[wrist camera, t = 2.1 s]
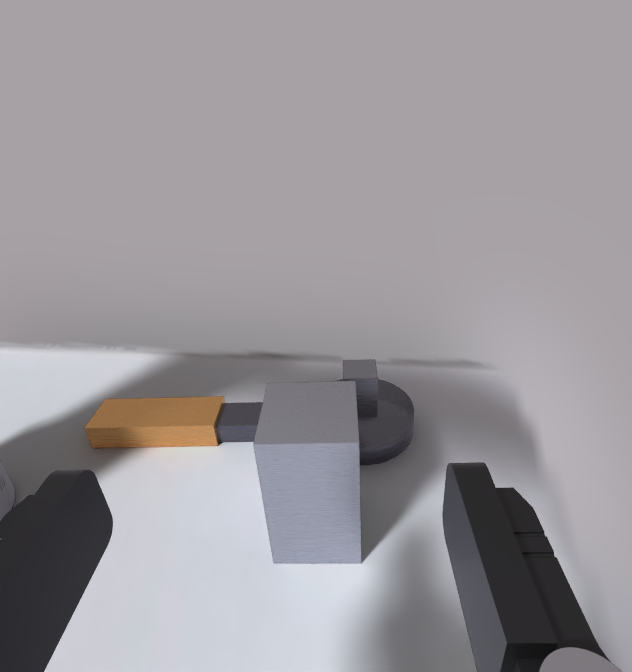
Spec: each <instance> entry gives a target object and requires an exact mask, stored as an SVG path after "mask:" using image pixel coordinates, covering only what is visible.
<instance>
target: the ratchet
mask: <svg viewBox="0 0 632 672" xmlns="http://www.w3.org/2000/svg"><path fill="white" fill-rule="evenodd" d="M338 381H355V384H356V400H357V416H358V432H359V461H360V465H369V464H376V463H380V462H384V461H387V460H389V459H392V458H394V457H395V456H397V455H399V454H400V453H401V452H402V451H403V450H404V449H406V447H407V446H408V445H409V443H410V441H411V438H412V432H413V415H414V408H413V404H412V401H411V399H410V398H409V396H408V395H407V394H406V393H405V392H404V391H403V390H401V389H400V388H399V387H397V386H395V385H393V384H391V383H389V382H386V381H383V380H379V379H378V376H377V369H376V362H375V360H343V379H342V380H338ZM262 405H263V402H256V403H225V399H224V396H216V397H175V398H134V399H105V401H104V402H103V403H102V405H101V406H100V407H99V409H98V410H97V411H96V413H95V414H94V416H93V417H92V418H91V420H90V421H89V422H88V424H87V425H86V426H85V428H84V429H85V431H86V434H87V436H88V439H89V441H90V444H91V446H92V448H115V447H173V446H218V444H219V442H253V441H254V439H255V435H256V431H257V426H258V422H259V418H260V413H261V409H262Z"/></svg>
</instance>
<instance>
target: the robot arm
mask: <svg viewBox="0 0 632 672" xmlns="http://www.w3.org/2000/svg"><path fill="white" fill-rule="evenodd" d="M14 501H15V489H14V486H13V483H12V482H11V480H10V478H9V476H8V474H7V472H6V471H5V469H4V467H3V465H2V463H1V461H0V672H44V670H45V668H46V666H47V664H48V662H49V661H50V659H51V657H52V655H53V653H54V651H55V649H56V647H57V645H58V643H59V641H60V639H61V637H62V635H63V633H64V631H65V629H66V627H67V625H68V623H69V621H70V619H71V617H72V615H73V613H74V611H75V609H76V607H77V605H78V603H79V601H80V599H81V597H82V595H83V593H84V591H85V589H86V587H87V585H88V583H89V581H90V579H91V577H92V575H93V573H94V571H95V569H96V567H97V565H98V563H99V561H100V559H101V558H102V556H103V554H104V552H105V550H106V548H107V546H108V543H109V541H110V538H111V534H112V528H113V519H112V515H111V512H110V509H109V507H108V505H107V502H106V500H105V497H104V495H103V493H102V490H101V488H100V485H99V483H98V480H97V478H96V476H95V474H94V473H93V472H92V471H90V470H71V471H55V472H53V473H52V474H50V475H49V476H48V478H47V479H46V480H45V482H44V483H43V484H42V486H41V487H40V488H39V490H38V491H37V492H36V494H35V495H29V496H28V497H26V498H25V499H24V500H23V501H21V502H20V503H19V504H18V505H16V506H15V507H14V508H13V509H12V506H13V504H14ZM11 509H12V510H11ZM443 527H444V535H445V540H446V544H447V549H448V553H449V557H450V561H451V565H452V569H453V573H454V577H455V581H456V586H457V590H458V594H459V598H460V602H461V606H462V610H463V614H464V618H465V623H466V627H467V631H468V635H469V639H470V643H471V647H472V651H473V655H474V660H475V664H476V668H477V672H622V671H621V670H620V669H619V668H617V667H616V666H615V665H614V664H613V663H611V662H610V660H609V659H608V658H607V657H606V656H605V654H604V653H603V651H602V650H601V648H600V647H599V645H598V643H597V642H596V640H595V638H594V636H593V634H592V632H591V629H590V627H589V625H588V623H587V621H586V619H585V617H584V615H583V613H582V610H581V608H580V606H579V604H578V602H577V600H576V598H575V596H574V593H573V591H572V589H571V587H570V585H569V583H568V581H567V579H566V577H565V574H564V572H563V570H562V568H561V566H560V564H559V562H558V560H557V558H556V557H555V556H554V551H553V549H552V547H551V545H550V543H549V541H548V538H547V537H545V535H544V530H543V528H542V526H541V524H540V522H539V519H538V517H537V515H536V513H535V511H534V509H533V507H532V506H531V505H530V504H529V503H528V502H527V501H526V500H525V499H524V498H523V497H522V496H521V495H520V494H519V493H518V492H517V491H516V490H515V489H514V488H496V487H495V485H494V483H493V480H492V478H491V475H490V473H489V470H488V468H487V466H486V464H485V463H449V464H448V465H447V471H446V482H445V492H444V503H443Z"/></svg>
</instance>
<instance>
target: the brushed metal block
mask: <svg viewBox="0 0 632 672" xmlns="http://www.w3.org/2000/svg"><path fill="white" fill-rule="evenodd" d="M253 446H254V452H255V457H256V463H257V469H258V475H259V481H260V487H261V493H262V499H263V505H264V511H265V516H266V522H267V528H268V534H269V540H270V546H271V552H272V558H273V563H361V518H360V461H359V432H358V416H357V400H356V384H355V381H335V382H296V383H267V387H266V392H265V396H264V400H263V405H262V409H261V413H260V418H259V422H258V426H257V431H256V435H255V439H254V444H253Z"/></svg>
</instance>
